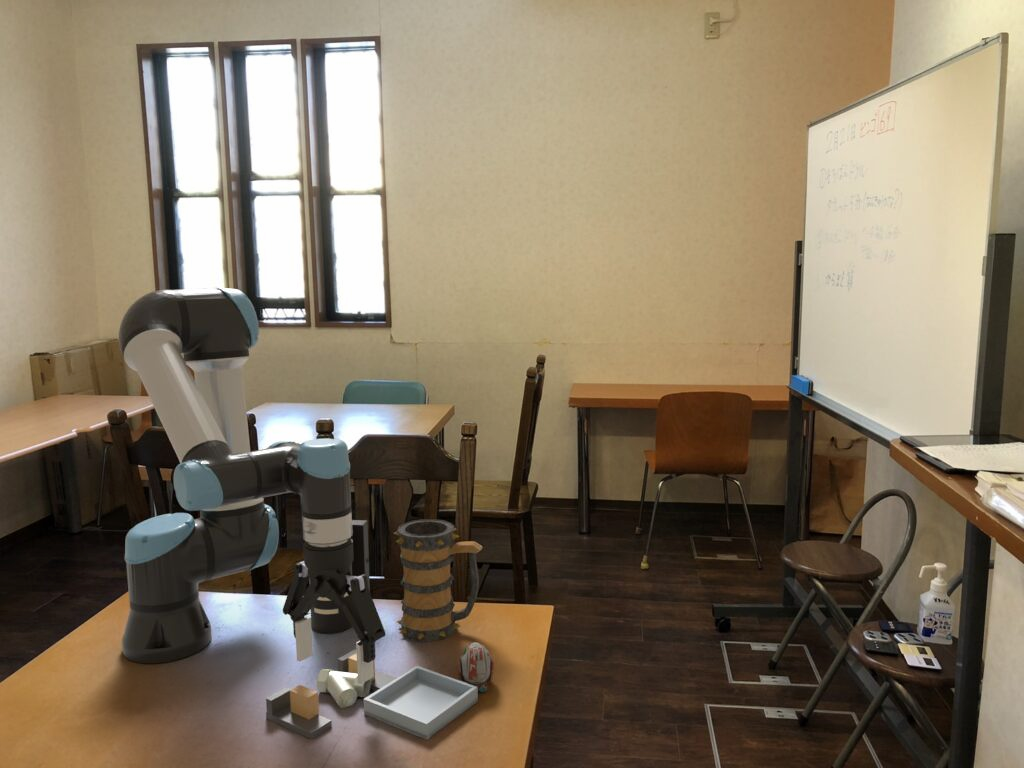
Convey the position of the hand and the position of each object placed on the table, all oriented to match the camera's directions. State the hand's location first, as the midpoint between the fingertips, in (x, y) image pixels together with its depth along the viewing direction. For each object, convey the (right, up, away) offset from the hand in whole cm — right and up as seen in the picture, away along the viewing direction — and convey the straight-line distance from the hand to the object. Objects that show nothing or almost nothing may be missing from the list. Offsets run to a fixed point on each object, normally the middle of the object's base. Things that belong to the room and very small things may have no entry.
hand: (334, 668), depth 130 cm
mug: (+14, -2, +26) cm, 30 cm away
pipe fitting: (0, -6, +2) cm, 6 cm away
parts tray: (+14, -6, -1) cm, 15 cm away
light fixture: (-6, -1, +31) cm, 32 cm away
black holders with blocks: (0, -5, +1) cm, 6 cm away
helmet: (+22, -5, +6) cm, 23 cm away
